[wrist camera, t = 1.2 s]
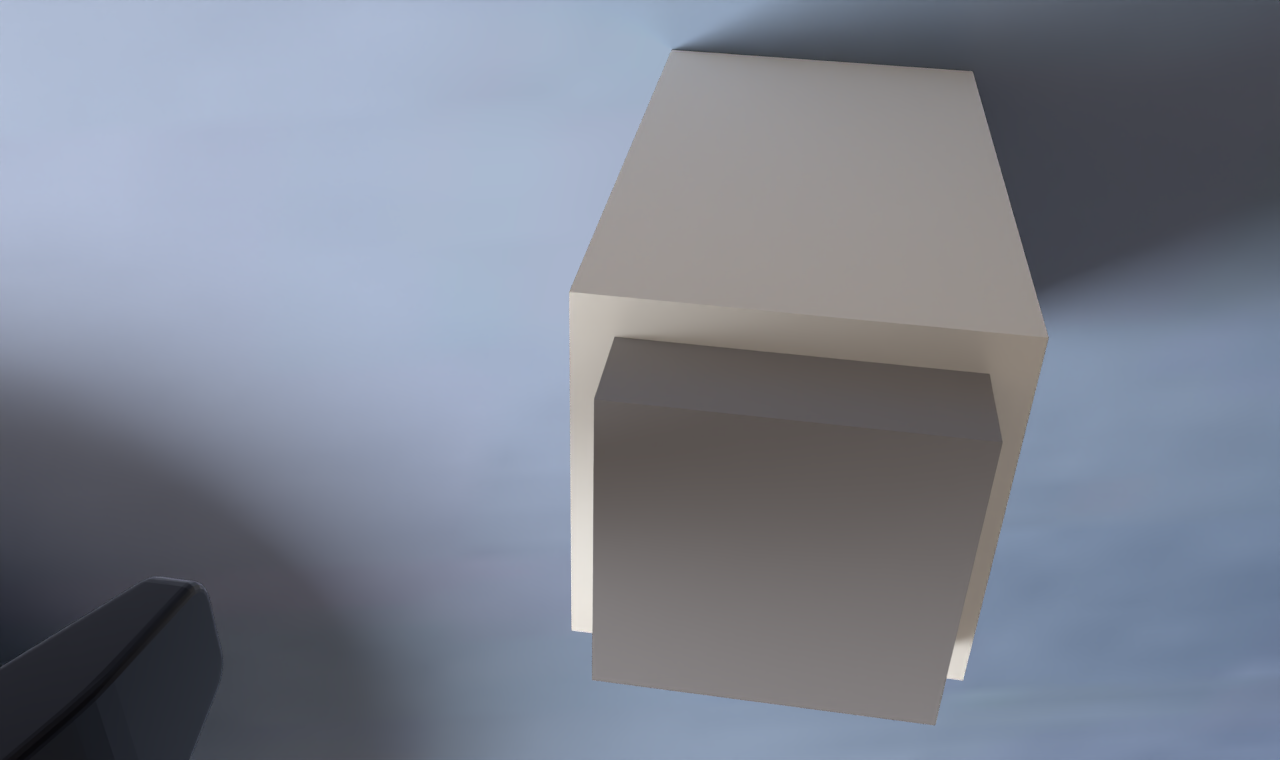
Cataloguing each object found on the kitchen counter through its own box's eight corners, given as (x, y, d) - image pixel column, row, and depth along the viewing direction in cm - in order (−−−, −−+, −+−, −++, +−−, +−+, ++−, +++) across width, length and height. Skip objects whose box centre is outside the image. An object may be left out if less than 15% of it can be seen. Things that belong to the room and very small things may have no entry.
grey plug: (972, 71, 15) (1067, 405, 9) (924, 332, 18) (971, 760, 11) (671, 49, 16) (544, 350, 9) (660, 307, 18) (551, 703, 11)
